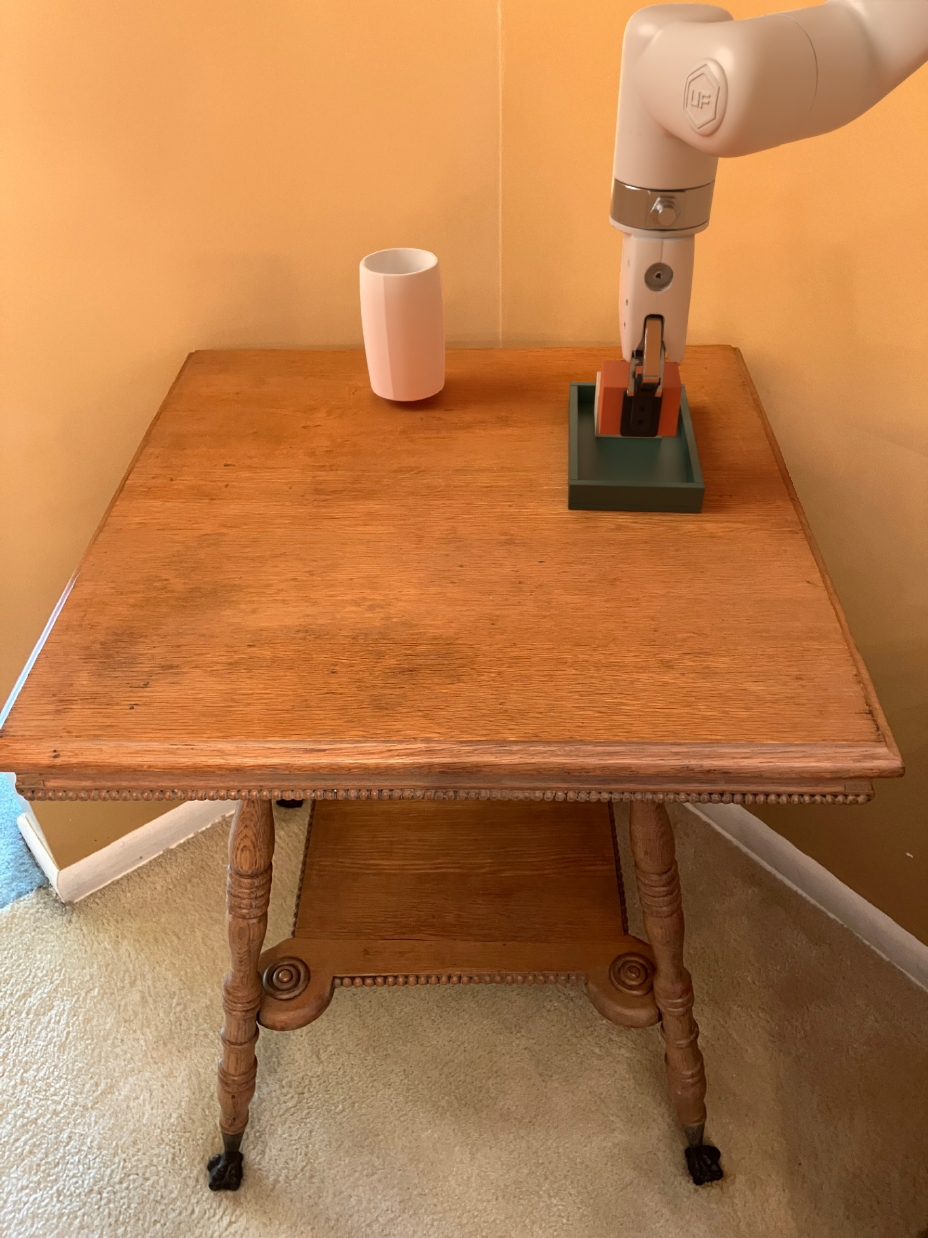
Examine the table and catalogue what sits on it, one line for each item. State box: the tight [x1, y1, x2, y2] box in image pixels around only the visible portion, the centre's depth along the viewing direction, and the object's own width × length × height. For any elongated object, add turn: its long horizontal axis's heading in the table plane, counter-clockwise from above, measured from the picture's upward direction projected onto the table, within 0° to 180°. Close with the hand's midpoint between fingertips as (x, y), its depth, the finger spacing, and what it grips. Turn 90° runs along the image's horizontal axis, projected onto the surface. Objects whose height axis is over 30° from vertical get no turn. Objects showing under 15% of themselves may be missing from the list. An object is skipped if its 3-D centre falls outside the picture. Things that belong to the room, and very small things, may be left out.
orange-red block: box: [598, 360, 682, 436], centre depth 79 cm, size 5×6×4 cm
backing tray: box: [567, 381, 706, 514], centre depth 87 cm, size 20×12×3 cm, turn 175°
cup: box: [359, 247, 446, 402], centre depth 94 cm, size 8×8×14 cm
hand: (636, 416), depth 81 cm, fingers closed on orange-red block, 5 cm apart
